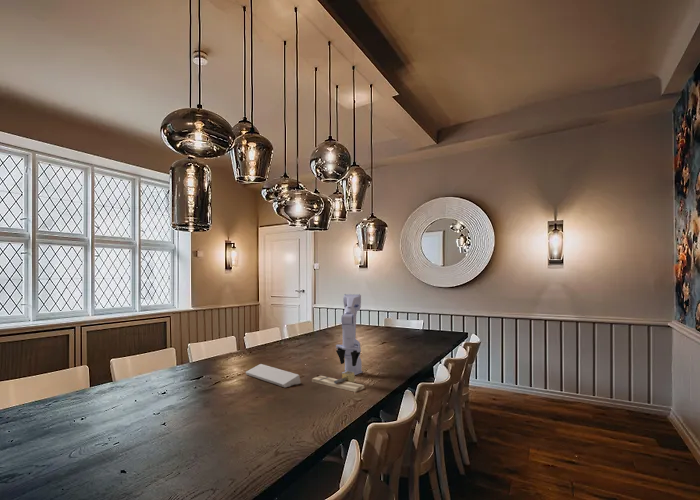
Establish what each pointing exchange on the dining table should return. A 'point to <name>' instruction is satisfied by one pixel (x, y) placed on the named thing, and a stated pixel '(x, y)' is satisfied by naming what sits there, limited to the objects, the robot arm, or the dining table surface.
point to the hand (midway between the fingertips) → (348, 364)
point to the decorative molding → (274, 375)
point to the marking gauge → (346, 377)
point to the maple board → (341, 385)
